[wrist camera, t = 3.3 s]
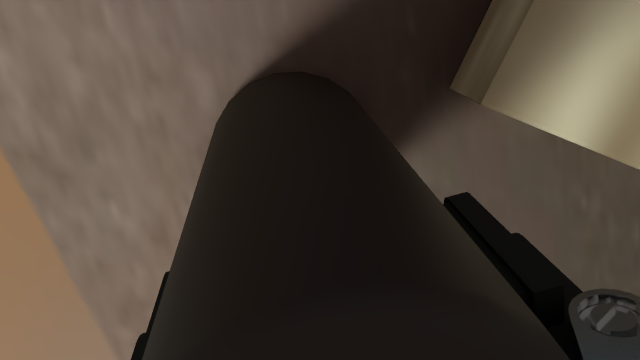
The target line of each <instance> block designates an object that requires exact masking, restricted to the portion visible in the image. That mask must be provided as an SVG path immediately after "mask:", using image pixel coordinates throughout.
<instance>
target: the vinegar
mask: <svg viewBox="0 0 640 360" xmlns="http://www.w3.org/2000/svg"><path fill="white" fill-rule="evenodd" d="M142 360H570V359H569V358H568V356H567V355H566V354H565V352H564V351H563V350H562V348H561V347H560V346H559V345H558V343H557V342H556V341H555V339H554V338H553V337H552V336H551V334H550V333H549V332H548V330H547V329H546V328H545V327H544V325H543V324H542V323H541V321H540V320H539V319H538V318H537V317H536V315H535V314H534V313H533V312H532V311H531V310H530V308H529V307H528V306H527V305H526V304H525V302H524V301H523V300H522V299H521V298H520V296H519V295H518V294H517V293H516V292H515V290H514V289H513V288H512V287H511V286H510V284H509V283H508V282H507V281H506V280H505V278H504V277H503V276H502V275H501V274H500V272H499V271H498V270H497V269H496V268H495V266H494V265H493V264H492V263H491V262H490V261H489V259H488V258H487V257H486V256H485V255H484V253H483V252H482V251H481V250H480V249H479V247H478V246H477V245H476V244H475V243H474V241H473V240H472V239H471V238H470V237H469V235H468V234H467V233H466V232H465V231H464V229H463V228H462V227H461V226H460V225H459V223H458V222H457V221H456V220H455V219H454V217H453V216H452V215H451V214H450V213H449V211H448V210H447V209H446V208H445V207H444V206H443V204H442V203H441V202H440V201H439V200H438V198H437V197H436V196H435V195H434V194H433V192H432V191H431V190H430V189H429V188H428V186H427V185H426V184H425V183H424V182H423V180H422V179H421V178H420V177H419V176H418V174H417V173H416V172H415V171H414V170H413V168H412V167H411V166H410V165H409V164H408V162H407V161H406V160H405V159H404V158H403V156H402V155H401V154H400V153H399V152H398V151H397V149H396V148H395V147H394V146H393V145H392V143H391V142H390V141H389V140H388V139H387V137H386V136H385V135H384V134H383V133H382V131H381V130H380V129H379V128H378V127H377V125H376V124H375V123H374V122H373V121H372V119H371V118H370V117H369V116H368V115H367V113H366V112H365V111H364V110H363V109H362V107H361V106H360V105H359V104H358V103H357V101H356V100H355V99H354V98H353V97H352V96H351V94H350V93H349V92H348V91H346V90H344V89H343V88H341V87H340V86H338V85H337V84H335V83H334V82H332V81H331V80H329V79H327V78H324V77H320V76H316V75H312V74H308V73H304V72H290V73H276V74H272V75H270V76H267V77H265V78H262V79H260V80H258V81H255V82H253V83H250V84H249V85H247V86H246V87H245V88H244V89H243V90H242V91H240V92H239V93H238V94H237V95H236V96H235V97H233V98H232V99H231V100H230V101H229V102H228V104H227V106H226V108H225V109H224V111H223V113H222V114H221V116H220V118H219V119H218V121H217V123H216V126H215V129H214V132H213V135H212V138H211V141H210V145H209V148H208V151H207V154H206V157H205V161H204V164H203V167H202V170H201V173H200V177H199V180H198V183H197V186H196V189H195V192H194V196H193V199H192V202H191V205H190V208H189V212H188V215H187V218H186V221H185V224H184V228H183V231H182V234H181V237H180V240H179V243H178V247H177V250H176V253H175V256H174V259H173V263H172V266H171V269H170V272H169V275H168V278H167V282H166V285H165V288H164V291H163V294H162V298H161V301H160V304H159V307H158V310H157V314H156V317H155V320H154V323H153V326H152V329H151V333H150V336H149V339H148V342H147V345H146V349H145V352H144V355H143V358H142Z"/></svg>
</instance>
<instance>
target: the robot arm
mask: <svg viewBox="0 0 640 360" xmlns="http://www.w3.org/2000/svg"><path fill="white" fill-rule="evenodd" d="M443 206H444V207H445V208H446V209H447V210H448V211H449V213H450V214H451V215H452V216H453V217H454V219H455V220H456V221H457V222H458V223H459V225H460V226H461V227H462V228H463V229H464V231H465V232H466V233H467V234H468V235H469V237H470V238H471V239H472V240H473V241H474V243H475V244H476V245H477V246H478V247H479V249H480V250H481V251H482V252H483V253H484V255H485V256H486V257H487V258H488V259H489V261H490V262H491V263H492V264H493V265H494V266H495V268H496V269H497V270H498V271H499V272H500V274H501V275H502V276H503V277H504V278H505V280H506V281H507V282H508V283H509V284H510V286H511V287H512V288H513V289H514V290H515V292H516V293H517V294H518V295H519V296H520V298H521V299H522V300H523V301H524V302H525V304H526V305H527V306H528V307H529V308H530V310H531V311H532V312H533V313H534V314H535V315H536V317H537V318H538V319H539V320H540V321H541V323H542V324H543V325H544V327H545V328H546V329H547V330H548V332H549V333H550V334H551V336H552V337H553V338H554V339H555V341H556V342H557V343H558V345H559V346H560V347H561V348H562V350H563V351H564V352H565V354H566V355H567V356H568V358H569V359H570V360H640V297H638V296H636V295H634V294H631V293H628V292H624V291H620V290H615V289H595V290H589V291H586V292H582V291H581V290H580V289H579V288H578V287H577V286H576V285H575V284H574V283H573V282H572V281H570V280H569V279H568V278H567V277H566V276H565V275H564V274H563V273H562V272H561V271H560V270H559V269H558V268H557V267H556V266H554V265H553V264H552V263H551V262H550V261H549V260H548V259H547V258H546V257H545V256H544V255H543V254H542V253H541V252H539V251H538V250H537V249H536V248H535V247H534V246H533V245H532V244H531V243H530V242H529V241H528V240H527V239H526V238H524V237H523V236H522V235H521V234H519V233H512V234H511V233H510V232H509V231H508V230H507V229H506V228H505V227H504V226H503V225H502V224H500V223H499V222H498V221H497V220H496V219H495V218H494V217H493V216H492V215H491V214H490V213H489V212H488V211H487V210H486V209H485V208H484V207H483V206H482V205H481V204H480V203H479V202H478V201H477V200H476V199H475V198H474V197H473V196H472V195H471V194H469V193H468V192H465V193H461V194H457V195H453V196H450V197H446V198H445V199H444V204H443ZM169 272H170V271H169ZM169 272H166V273H165V275H164V278H163V281H162V284H161V287H160V290H159V293H158V297H157V300H156V303H155V306H154V309H153V312H152V316H151V319H150V322H149V325H148V328H147V332H146V333H143V334H141V335H140V336H139V338H138V340H137V343H136V346H135V349H134V352H133V355H132V358H131V360H142V358H143V355H144V352H145V349H146V345H147V342H148V339H149V336H150V333H151V329H152V326H153V323H154V320H155V317H156V314H157V310H158V307H159V304H160V301H161V298H162V294H163V291H164V288H165V285H166V282H167V278H168V275H169Z"/></svg>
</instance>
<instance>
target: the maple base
mask: <svg viewBox="0 0 640 360" xmlns="http://www.w3.org/2000/svg"><path fill="white" fill-rule="evenodd" d="M450 89H452V90H454V91H456V92H458V93H460V94H462V95H463V96H465V97H467V98H469V99H471V100H473V101H475V102H477V103H479V104H481V105H483V106H486V107H488V108H490V109H493V110H495V111H498V112H500V113H503V114H505V115H508V116H510V117H512V118H515V119H517V120H520V121H522V122H525V123H527V124H529V125H532V126H534V127H537V128H539V129H542V130H544V131H547V132H549V133H551V134H554V135H556V136H559V137H561V138H564V139H566V140H569V141H571V142H573V143H576V144H578V145H581V146H583V147H586V148H588V149H591V150H593V151H595V152H598V153H600V154H603V155H605V156H608V157H610V158H613V159H615V160H617V161H620V162H622V163H625V164H627V165H630V166H632V167H634V168H637V169H639V170H640V0H492V2H491V4H490V6H489V8H488V10H487V12H486V14H485V16H484V18H483V20H482V22H481V25H480V27H479V29H478V31H477V33H476V35H475V37H474V39H473V41H472V43H471V45H470V47H469V49H468V51H467V53H466V55H465V57H464V59H463V61H462V63H461V66H460V68H459V70H458V72H457V74H456V76H455V78H454V80H453V82H452V84H451V86H450Z"/></svg>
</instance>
